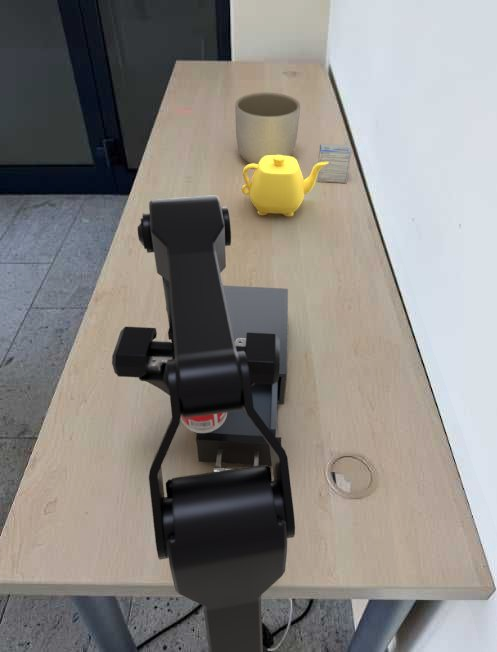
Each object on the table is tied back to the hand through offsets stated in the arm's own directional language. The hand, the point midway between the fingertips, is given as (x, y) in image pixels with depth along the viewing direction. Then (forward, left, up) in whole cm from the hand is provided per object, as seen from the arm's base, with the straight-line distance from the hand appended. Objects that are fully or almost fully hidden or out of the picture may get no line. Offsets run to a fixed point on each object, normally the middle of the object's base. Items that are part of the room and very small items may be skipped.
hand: (202, 397), depth 62 cm
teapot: (+69, -10, -13) cm, 71 cm away
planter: (+94, -5, -13) cm, 95 cm away
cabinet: (+19, -5, -13) cm, 24 cm away
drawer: (+5, -5, -12) cm, 14 cm away
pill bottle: (0, 0, -4) cm, 4 cm away
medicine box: (+84, -23, -13) cm, 88 cm away
